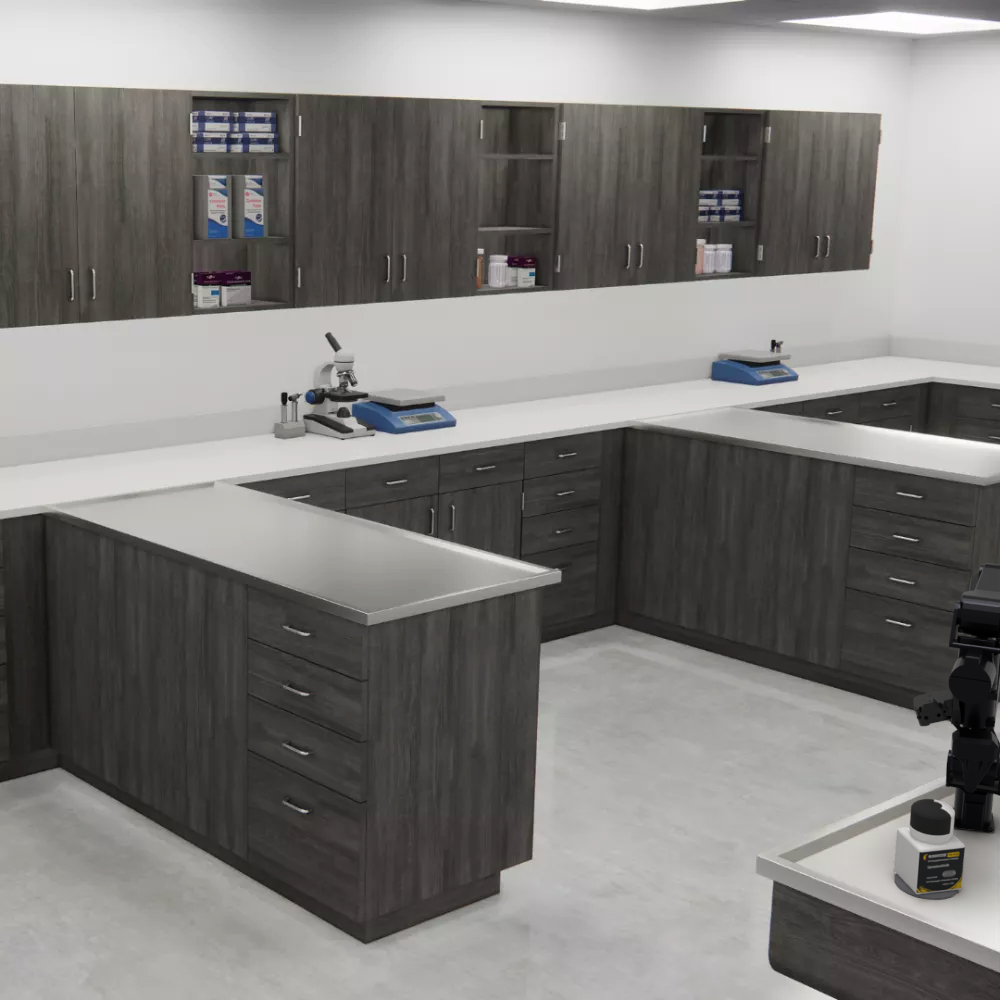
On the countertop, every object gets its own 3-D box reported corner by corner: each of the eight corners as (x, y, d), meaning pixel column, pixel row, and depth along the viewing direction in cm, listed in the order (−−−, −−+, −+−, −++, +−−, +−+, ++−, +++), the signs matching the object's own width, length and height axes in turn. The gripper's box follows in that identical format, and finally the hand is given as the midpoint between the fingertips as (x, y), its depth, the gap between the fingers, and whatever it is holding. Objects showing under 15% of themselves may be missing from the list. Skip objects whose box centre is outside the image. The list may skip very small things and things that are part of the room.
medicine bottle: (916, 895, 205) (922, 818, 202) (892, 871, 212) (898, 796, 209) (962, 890, 207) (968, 813, 204) (937, 866, 213) (943, 791, 210)
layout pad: (894, 864, 214) (895, 862, 214) (958, 872, 212) (958, 870, 212) (893, 894, 206) (894, 892, 206) (959, 903, 204) (960, 901, 204)
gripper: (918, 653, 220) (911, 748, 224) (919, 697, 203) (911, 799, 206) (995, 660, 217) (986, 756, 221) (1003, 705, 200) (993, 809, 203)
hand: (967, 779), depth 213 cm, fingers open, 9 cm apart
